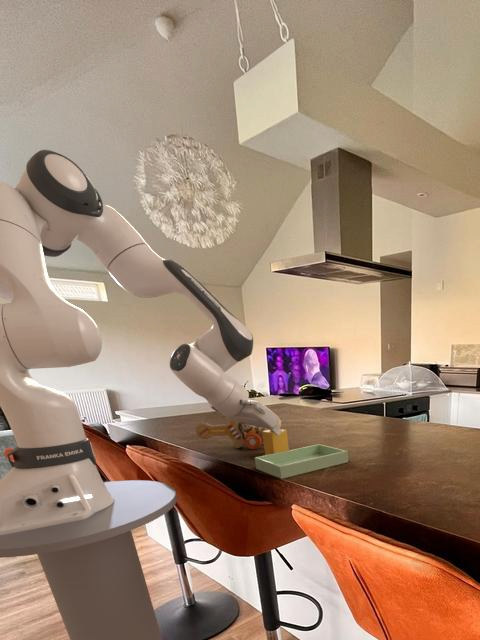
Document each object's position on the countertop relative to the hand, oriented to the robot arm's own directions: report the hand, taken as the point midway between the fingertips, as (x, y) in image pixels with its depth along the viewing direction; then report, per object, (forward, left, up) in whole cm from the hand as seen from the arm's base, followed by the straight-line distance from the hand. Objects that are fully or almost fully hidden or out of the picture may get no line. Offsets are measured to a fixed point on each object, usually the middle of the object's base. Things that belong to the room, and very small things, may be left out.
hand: (269, 431), depth 118 cm
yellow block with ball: (+1, 0, -7) cm, 7 cm away
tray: (0, -16, -7) cm, 18 cm away
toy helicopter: (-3, +19, -7) cm, 20 cm away
